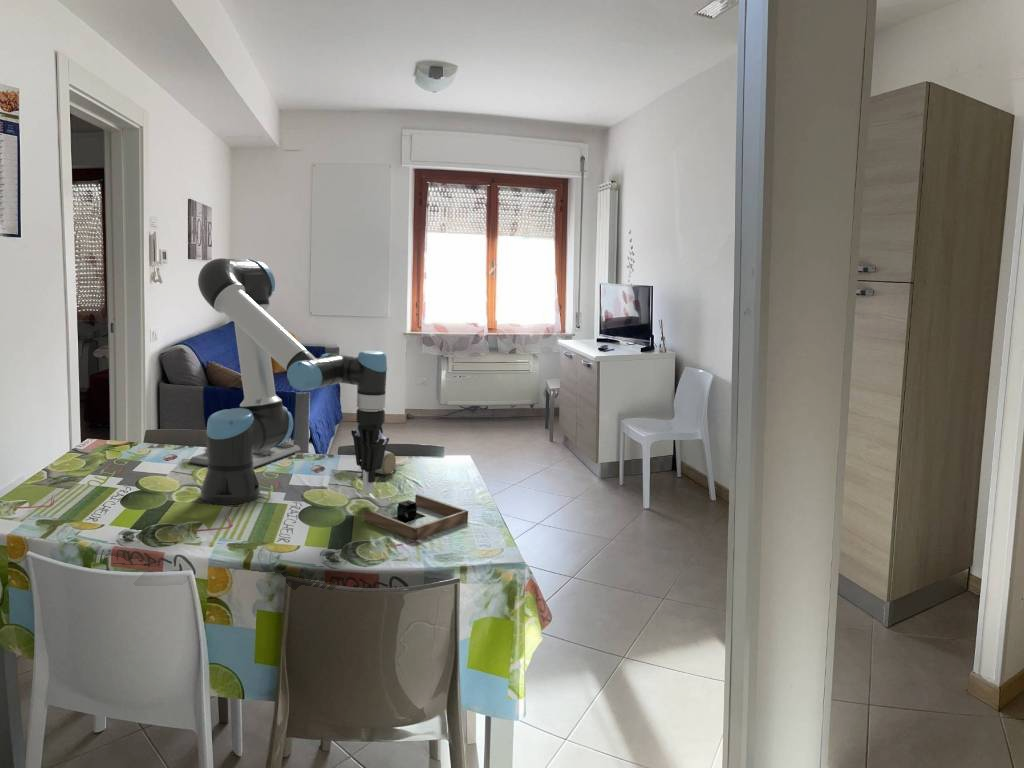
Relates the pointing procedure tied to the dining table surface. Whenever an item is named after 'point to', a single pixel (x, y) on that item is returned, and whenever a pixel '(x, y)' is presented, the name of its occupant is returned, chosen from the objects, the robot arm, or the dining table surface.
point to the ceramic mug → (387, 463)
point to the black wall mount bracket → (407, 512)
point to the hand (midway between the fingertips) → (367, 492)
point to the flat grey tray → (259, 454)
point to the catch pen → (453, 519)
